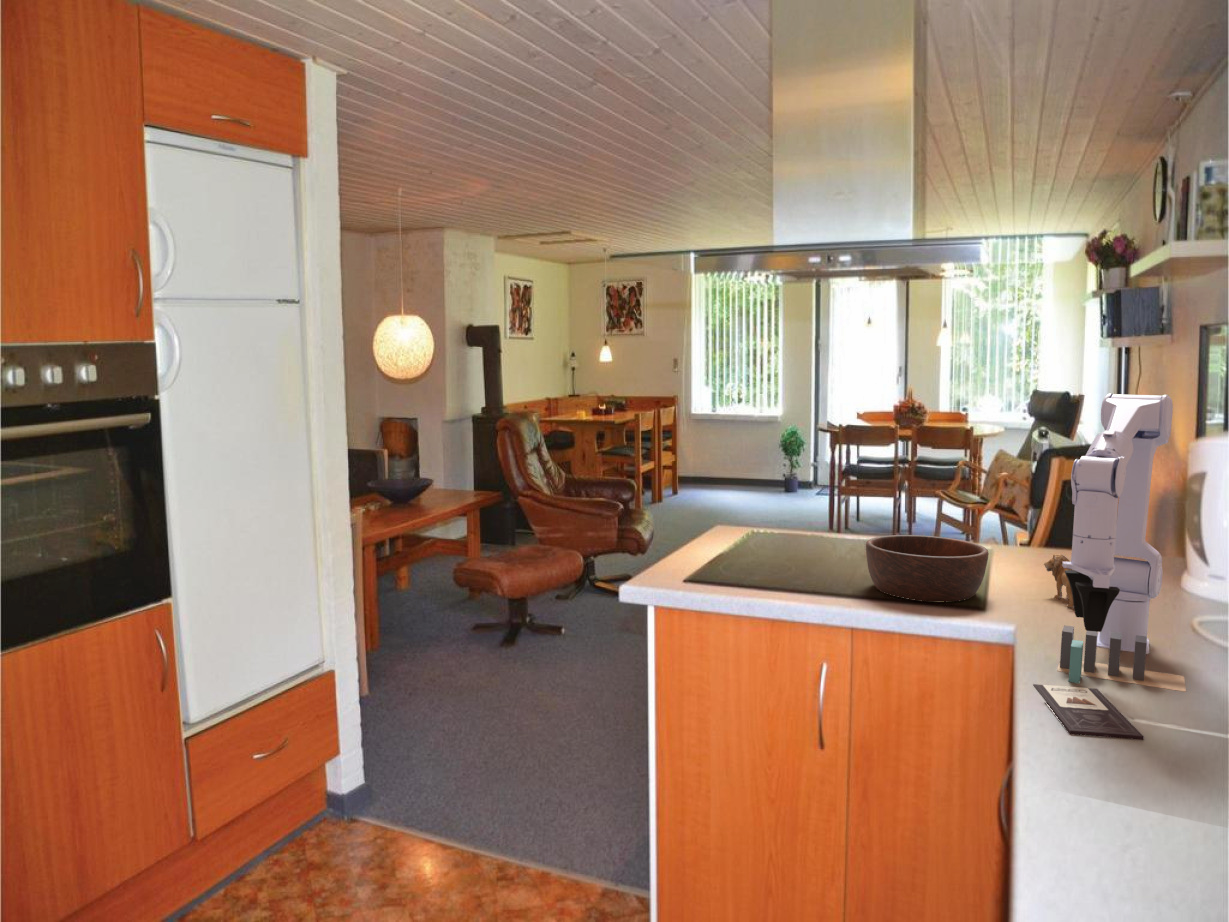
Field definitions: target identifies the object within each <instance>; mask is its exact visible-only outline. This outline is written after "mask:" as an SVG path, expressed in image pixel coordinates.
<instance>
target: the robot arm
mask: <svg viewBox="0 0 1229 922" xmlns="http://www.w3.org/2000/svg"><path fill="white" fill-rule="evenodd" d="M1173 405H1174V404H1173V400H1172V397H1170V395H1168V394H1163V395H1159V394H1157V395H1156V394H1154V395H1153V394H1124V393H1123V394H1119V393H1118V394H1116V393H1111V392H1110V393H1107V394H1106V395H1105V396H1104V397H1103V400H1102V402H1101V407H1100V421H1101V426H1102V427H1103V429H1104V431H1101V432H1100V433H1098V434H1097V435H1096V436H1095V437H1094V439H1093V440H1092V443H1091V444H1090V446H1089V447H1088V450H1087V452H1086V454H1085V455H1081V457H1080V459H1078V458H1076V459H1075V460H1074V461H1073V464H1072V468H1071V475H1070V482H1071V483H1070V485H1071V491H1072V495H1071V501H1072V502H1071V503H1072V505H1074V512H1073V515H1074V516H1073V529H1072V541H1071V545H1072V546H1071V556H1070V557H1071V558H1070V562H1062V566H1063V567H1064V568H1068V569H1072V570H1065V574H1066V576H1067V578H1068V581H1069V584H1070V587H1071V591H1072V597H1073V605H1074V607H1073V610H1074V614H1075V617H1076V618H1081V619H1082V620H1083V625H1084V629H1085V631H1086V632H1087V631H1096V632H1098V634H1097V648H1102V649H1108V650H1110V637H1111V632H1117V633H1122V639H1121V651H1122V652H1123V651H1124V652H1130V653H1134V651H1135V637H1136V635H1139V636H1146V637H1147V645H1146V655H1149V654H1150V640H1149V638H1148V629H1149V617H1150V602H1151V600H1152V599H1156V598H1157V597H1158V596H1159V595H1160V593H1161V589H1162V584H1163V557H1162V555H1161V553H1160V552H1159V551H1158V550H1157V549H1156V548H1155V547H1153V546H1152V545H1151V544H1150V543H1149V542H1147V541H1146V537H1147V536H1146V535H1147V526H1148V516H1149V507H1150V506H1149V505H1150V497H1151V496H1150V495H1151V486H1152V485H1151V484H1152V476H1153V475H1152V474H1153V463H1154V457H1155V454H1156V451H1157V449H1158V447H1160V446H1163V445H1167V444H1168V443H1169V439H1170V438H1171V432H1172V422H1173V412H1174V411H1173V410H1174V409H1173V408H1174V406H1173ZM1117 556H1120V557H1117ZM1125 557H1127V558H1125ZM1128 557H1129V558H1128ZM1133 558H1137V559H1133ZM1139 559H1141V560H1139ZM1142 559H1143V560H1142ZM1074 570H1075V571H1074Z"/></svg>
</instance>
